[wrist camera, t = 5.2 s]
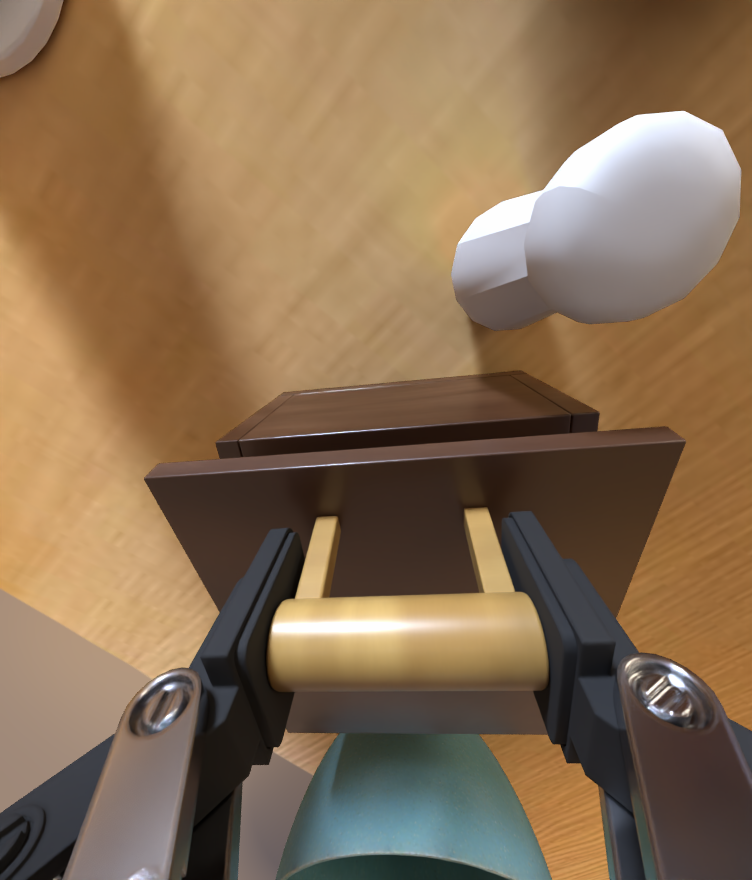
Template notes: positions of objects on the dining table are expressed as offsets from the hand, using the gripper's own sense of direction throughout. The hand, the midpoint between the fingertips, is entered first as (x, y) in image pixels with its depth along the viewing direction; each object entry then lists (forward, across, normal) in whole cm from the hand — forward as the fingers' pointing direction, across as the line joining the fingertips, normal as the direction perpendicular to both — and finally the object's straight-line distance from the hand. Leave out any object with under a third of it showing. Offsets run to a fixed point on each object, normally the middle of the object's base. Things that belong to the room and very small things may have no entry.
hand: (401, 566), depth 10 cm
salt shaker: (+14, -6, -8) cm, 17 cm away
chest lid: (+3, 0, +6) cm, 7 cm away
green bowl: (+14, +2, +30) cm, 33 cm away
